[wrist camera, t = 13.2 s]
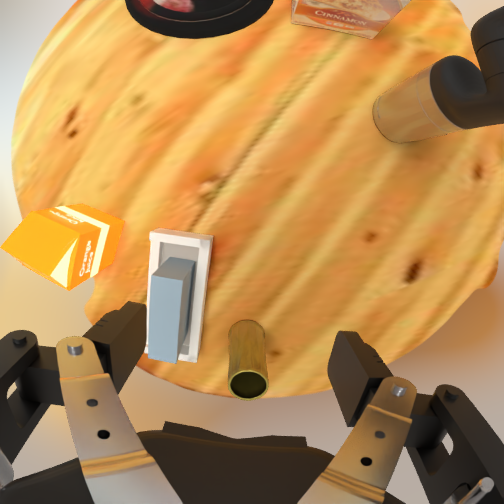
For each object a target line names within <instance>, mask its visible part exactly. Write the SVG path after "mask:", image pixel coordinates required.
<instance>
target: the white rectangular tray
mask: <svg viewBox="0 0 504 504" xmlns="http://www.w3.org/2000/svg"><path fill="white" fill-rule="evenodd" d="M149 240H151V248H150V261H149V275H148V293H147V341H146V347H145V353H147V354H148V331H149V304H150V286H151V275H152V274H153V273H154V272H155V271H156V270H157V269H158V268H159V267H160V266H161V265H162V264H163V263H164V262H165V261H166V260H167V259H168V258H169V257H175V258H181V259H187V260H193V261H195V269H194V278H193V286H192V296H191V305H190V315H189V326H188V332H187V335H186V338H185V341H184V343H183V346H182V349H181V352H180V355H179V357H178V360H183V361H189V362H195V363H197V359H198V355H199V351H200V345H201V335H202V325H203V316H204V307H205V299H206V290H207V282H208V274H209V266H210V258H211V251H212V243H213V236H212V235H205V234H198V233H192V232H185V231H178V230H171V229H164V228H157V229H155V230H153V231H151V232H150V238H149Z"/></svg>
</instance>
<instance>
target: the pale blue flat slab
mask: <svg viewBox="0 0 504 504" xmlns="http://www.w3.org/2000/svg"><path fill="white" fill-rule="evenodd" d="M194 269H195V261H193V260H187V259H181V258H175V257H169V258H168V259H167V260H166V261H165V262H164V263H163V264H162V265H161V266H160V267H159V268H158V269H157V270H156V271H155V272H154V273H153V274H152V275H151V286H150V304H149V331H148V358H151V359H155V360H160V361H165V362H170V363H175V364H176V363H177V360H178V357H179V355H180V352H181V349H182V346H183V343H184V341H185V338H186V335H187V332H188V326H189V315H190V305H191V296H192V286H193V278H194Z"/></svg>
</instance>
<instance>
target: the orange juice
mask: <svg viewBox="0 0 504 504" xmlns="http://www.w3.org/2000/svg"><path fill="white" fill-rule="evenodd" d="M123 225H124V221H123V220H121V219H119V218H116V217H114V216H111V215H109V214H106V213H104V212H101V211H99V210H97V209H94V208H92V207H89V206H87V205H84V204H77V205H70V206H61V207H55V208H50V209H44V210H38V211H31V212H30V213H29V214H28V216H27V217H26V218H25V219H24V220H23V221H22V222H21V223H20V224H19V226H18V227H17V228H16V229H15V230H14V231H13V233H12V234H11V235H10V236H9V237H8V238H7V240H6V241H5V242H4V243H3V245H2V246H1V247H0V248H1V249H3V250H5V251H6V252H8V253H9V254H11V255H12V256H13V257H14V258H16V259H17V260H18V261H19V262H21V263H22V265H24V266H26V267H27V268H29V269H30V270H32V271H34V272H36V273H37V274H39V275H41V276H43V277H44V278H46V279H48V280H50V281H52V282H54V283H56V284H57V285H59V286H61V287H63V288H65V289H67V290H68V291H70V290H71V289H73V288H74V287H76V286H77V285H79V284H80V283H82V282H83V281H85V280H87V279H88V278H90V277H92V276H94V275H95V274H97V273H98V272H99V271H101V270H102V269H104V268H106V267H107V266H109V265H110V264H112V263H113V261H114V257H115V253H116V249H117V246H118V242H119V238H120V235H121V232H122V228H123Z"/></svg>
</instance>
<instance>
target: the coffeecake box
mask: <svg viewBox="0 0 504 504" xmlns="http://www.w3.org/2000/svg"><path fill="white" fill-rule="evenodd" d="M410 1H411V0H292V16H291V23H293V24H300V25H307V26H313V27H319V28H324V29H330V30H335V31H339V32H344V33H348V34H353V35H357V36H361V37H365V38H368V39H373V38H374V37H375V36H376V35H377V34H378V33H379V32H380V31H381V30H382V29H383V28H384V27H385V26H386V25H387V24H388V23H389V22H390V21H391V20H392V19H393V18H394V17H395V16H396V15H397V14H398V13H399V12H400V11H401V10H402V9H403V8H404V7H405V6H406V5H407V4H408V3H409V2H410Z"/></svg>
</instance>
